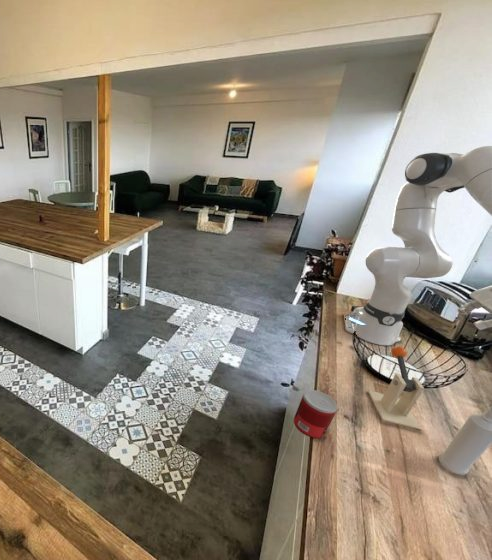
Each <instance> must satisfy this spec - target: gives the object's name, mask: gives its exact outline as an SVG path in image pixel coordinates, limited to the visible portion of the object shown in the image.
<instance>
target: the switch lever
mask: <svg viewBox="0 0 492 560" xmlns="http://www.w3.org/2000/svg"><path fill="white" fill-rule="evenodd" d="M390 353H391V355H392V356H393V357H394V358H396V359H397V362H398V367H399V372H400V375H401V377H402V378H403V380H404V381H405V383H406V384H407V385H406V386H405V388H404V390H403V391H402V392H404V391H407V392H412V391H413V390H415V386H414V383H413V380H411V379H409V374H408V371H407V367H406V362H405V357H406V356H407V355H408V352H407V350H406V349H405V347H403V346H393V347H392V348H391V349H390Z"/></svg>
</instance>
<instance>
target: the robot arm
mask: <svg viewBox="0 0 492 560" xmlns="http://www.w3.org/2000/svg"><path fill="white" fill-rule="evenodd" d="M403 175H404V179H405V181H406V182H407V183H404V184H403V185H402V186H401V187H400V189H399V190H400V191H398V194H397V198H396V201H395V205H394V211H393V217H392V223H391V224H392V226H391V231H392V233H393V235H394V236H396V237H398V238H399V239H400V240H401V241H402V242H403V245H404V247H401V246H400V247H399V246H386V247H385V246H384V247H376V248H374V249H372V250H371V251H370V252H369V253H368V254H367V255H366V257H365V266H366V269H367V270H368V271H369V272H370V273H371V274H372V275H373V278H374V281H375V282H374V288H373V291H372V293H371V296H370V298H367V300H366V302H365V304H364V305H363V306H362V305H352V306H351V308H350V312H349V313H348V314H349V316H346V317H345V314H344V315H343V320H344V328H345V331H346V332H348V333H349V334H353V333H354V331H356V332H357V336H356V337H357V338H360V339H362V340H363V341H365V342H368V343H371V344H375V345H379V346H393V345H394V344H395V343H398V342H401V341H402V338H401V336H400V334H401V331H402V328H403V326H404V323H403V321H402V320H403V318H405V314H406V310H407V309H406V308H407V307H408V305H409V303H410V301H411V299H412V297H413V294H412V291H411V290H410V289H409V287H407V286H406V285H405V284H404V280H405V279H406V278H415V279H433V278H441V277H444V276H446V275H447V274H448V273H450V272H451V270H452V268H453V259H452V257H451V255H450V254H449V253H447V252H446V251H445V250H444V249H443V248H442V247H441V246H440V244H439V243H438V240H437V237H436V233H435V224H436V215H437V214H436V213H437V206H438V199H439V197H440V196H441V194H442V193H444V192H445V193H451V194H452V193H455V192H456V191H459V190H461V189H465V190H466V191H467V193H468V194H469V195H470V197H471V198H472V199H473V200H474V201H476V203H477V204H479V206H481V207H482V208H483V210H485V211H486V212H487V213H488V214H489V215H490V216H491V217H492V145H486V146H485V145H484V146H479V147H477V148H474V149H472V150H470V151H468V152H466V153H465V154H463V153H457V152H449V153H445V152H442V153H441V152H428V153H422V154H419V155H417V156H415V157H413V158H412V159H411V160H410V161H409V162H408V163H407V165H406V167H405V169H404V173H403ZM468 295H469V297H470V298H471V299H472V300H470V301H469V302H467V303H466V304H465V305H464V306H462V307H459V308H457V309H456V310H457V312H458V313H459V314H460V315H462V316H467V315H470V314H471V312H472V311H475V310H479V309H484V310H485V311H486V312H487V313H489V314H490V315H492V284H491V285H488V286H485V287H482V288H479V289H477V290H474V291H472V292H471V293H469V294H468ZM345 318H346V320H345ZM473 326H475V328H476V329H478V330H479V331H482V330H485V329H489V328H492V318H491V319H487V320H482V319H480V320H479V319H478V320H477V321H474V322H473ZM353 335H354V334H353Z"/></svg>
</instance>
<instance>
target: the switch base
mask: <svg viewBox="0 0 492 560" xmlns="http://www.w3.org/2000/svg"><path fill="white" fill-rule="evenodd" d="M410 380H413V383H414V386H415V390H413V391H412V392H407V391H403V390H404V388H405V386H406V385H407V384H406V383H405V381H404V380H403V378H402V376H401V373H400V374H399V373H395V374H394V376H393V377H392V379H391V381H390V383H389V385H388V387H387V389H386V390H385V391H384V393H381V392H376V391H374V390H373V391H372V390H368V391H367V392H368V394H369V397H370V399H371V401H372V402H373V403H372V404H373V405H374V407H375V408H376V411H377V413H378V414H379V416H380V419H381V420H382V421H383V422H388V423H390V424H394V425H395V424H396V425H399V426H403V427H407V428H411V429H415V430H419V431H421V430H422V427H421V426H420V424H419V422H418V421H417V419H416V417H415V416H414V414H413V412H412V411H411V410H412V408H414V406H415V404H416V403H417V401H418V399H419V397H421V394H422V393H423V391H424V390H425V386H423V384H422V383H421V382H420V380H419V379H418V377H414V376H412V378H411V379H410Z"/></svg>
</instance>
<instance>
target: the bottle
mask: <svg viewBox="0 0 492 560" xmlns="http://www.w3.org/2000/svg"><path fill="white" fill-rule="evenodd" d="M491 445H492V405H490V406H489V408H488V409H487V410H486V412H485V413H481V414H478V413H472V414H470V415H469V417H468V418H467V419H466V421H465V422H464V424H463V425H462V427H461V428H460V429H459V430H458V432H457V433H456V435H455V436H454V438H453V439H452V441H451V442H450V444H449V445H448V446H447V448H446V449H445V450H444V452H443V453H441V454H440V455H439V456H438V461H439V463H440V464H441V465H442V466H443V467H444V468H445V469H446V470H448V471H450V472H452V473H454V474H457V475H459V476H466V475H467V474H468V473H469V471H470V468H471V467H472V466H473V465H474V464H475V462H477V460H478V459H479V458H480V457H481V456H482V455H483V454H484V453H485V452H486V450H487V449H488V448H490V446H491Z"/></svg>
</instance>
